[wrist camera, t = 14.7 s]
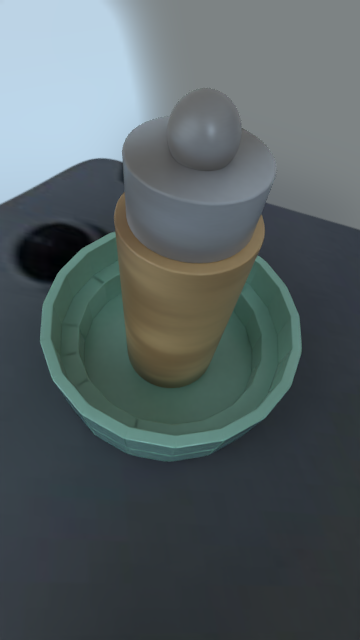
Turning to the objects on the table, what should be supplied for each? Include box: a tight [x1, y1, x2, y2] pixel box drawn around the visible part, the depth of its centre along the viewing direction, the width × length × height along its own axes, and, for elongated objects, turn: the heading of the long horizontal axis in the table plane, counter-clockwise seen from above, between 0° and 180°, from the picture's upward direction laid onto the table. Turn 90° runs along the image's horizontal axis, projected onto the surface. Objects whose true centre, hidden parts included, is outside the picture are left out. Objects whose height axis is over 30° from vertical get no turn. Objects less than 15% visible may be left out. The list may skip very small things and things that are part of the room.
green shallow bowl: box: [40, 232, 302, 462], centre depth 18 cm, size 13×13×4 cm
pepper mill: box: [114, 88, 276, 388], centre depth 13 cm, size 5×5×14 cm
